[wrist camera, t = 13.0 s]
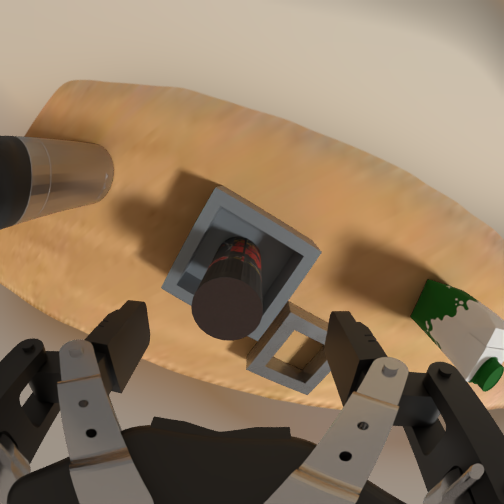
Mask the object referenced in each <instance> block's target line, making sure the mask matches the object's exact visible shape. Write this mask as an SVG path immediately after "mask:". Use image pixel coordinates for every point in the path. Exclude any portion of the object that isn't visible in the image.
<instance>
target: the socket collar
mask: <svg viewBox="0 0 504 504" xmlns="http://www.w3.org/2000/svg"><path fill="white" fill-rule="evenodd" d="M328 324H329V323H327V322H325V321H323V320H322V319H320V318H318V317H316V316H314V315H312V314H311V313H309V312H307V311H305V310H303V309H302V308H300V307H298V306H296V305H294V304H293V303H291V302H289V301H288V302H287V303H286V305H285V306H284V308H283V309H282V310H281V312H280V313H279V314H278V316H277V317H276V318H275V320H274V321H273V323H272V324H271V325H270V327H269V328H268V329H267V331H266V332H265V333H264V335H263V336H262V337H261V338H260V340H259V341H258V342H257V344H256V345H255V346H254V348H253V349H252V350H251V351H250V353H249V354H248V355H247V365H246V370H249V371H251V372H253V373H255V374H257V375H260V376H262V377H264V378H267V379H269V380H271V381H274V382H276V383H278V384H281V385H283V386H286V387H288V388H291V389H293V390H296V391H298V392H301V393H303V394H306V395H308V394H309V393H310V392H311V391H312V390H313V389H314V388H315V387H316V386H317V385H318V384H319V383H320V382H321V381H322V380H323V379H324V378H325V376H326V375H327V374H328V373H329V372H330V371H331V370H330V367H329V364H328V361H327V359H326V356H325V340H326V335H327V330H328ZM294 330H296V331H298V332H300V333H302V334H304V335H306V336H308V337H310V338H312V339H314V340H316V341H318V342H320V343H322V344H324V346H323V347H322V348H321V350H320V351H319V352H318V353H317V354H316V355H315V357H314V358H313V359H312V360H311V361H310V362H309V363H308V365H307V366H306V367H305V368H304V369H303V370H301V369H298V368H296V367H294V366H292V365H290V364H287V363H285V362H283V361H281V360H279V359H276V358H274V357H273V356H274V355H275V353H276V352H277V351H278V350H279V348H280V347H281V346H282V345H283V343H284V342H285V341H286V340H287V338H288V337H289V336H290V335H291V333H292V332H293V331H294Z"/></svg>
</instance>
